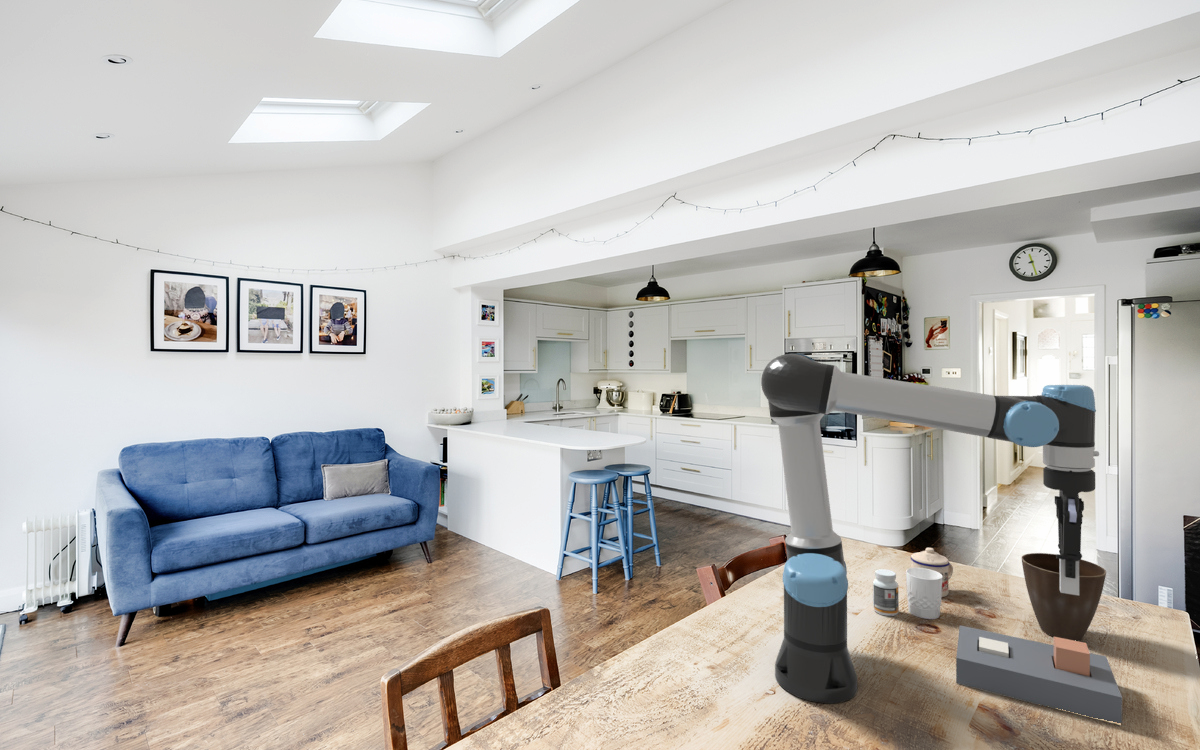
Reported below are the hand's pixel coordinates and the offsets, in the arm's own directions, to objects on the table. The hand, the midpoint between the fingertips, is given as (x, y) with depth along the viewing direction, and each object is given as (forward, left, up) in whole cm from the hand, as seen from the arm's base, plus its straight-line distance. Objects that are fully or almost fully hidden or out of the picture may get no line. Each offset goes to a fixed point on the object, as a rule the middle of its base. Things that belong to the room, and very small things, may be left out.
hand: (1069, 592), depth 107 cm
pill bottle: (+19, +34, -19) cm, 43 cm away
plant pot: (+28, -1, -19) cm, 34 cm away
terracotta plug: (0, 0, -16) cm, 16 cm away
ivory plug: (0, +12, -19) cm, 22 cm away
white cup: (+23, +26, -19) cm, 39 cm away
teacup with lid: (+40, +25, -19) cm, 51 cm away
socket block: (0, +6, -19) cm, 20 cm away
